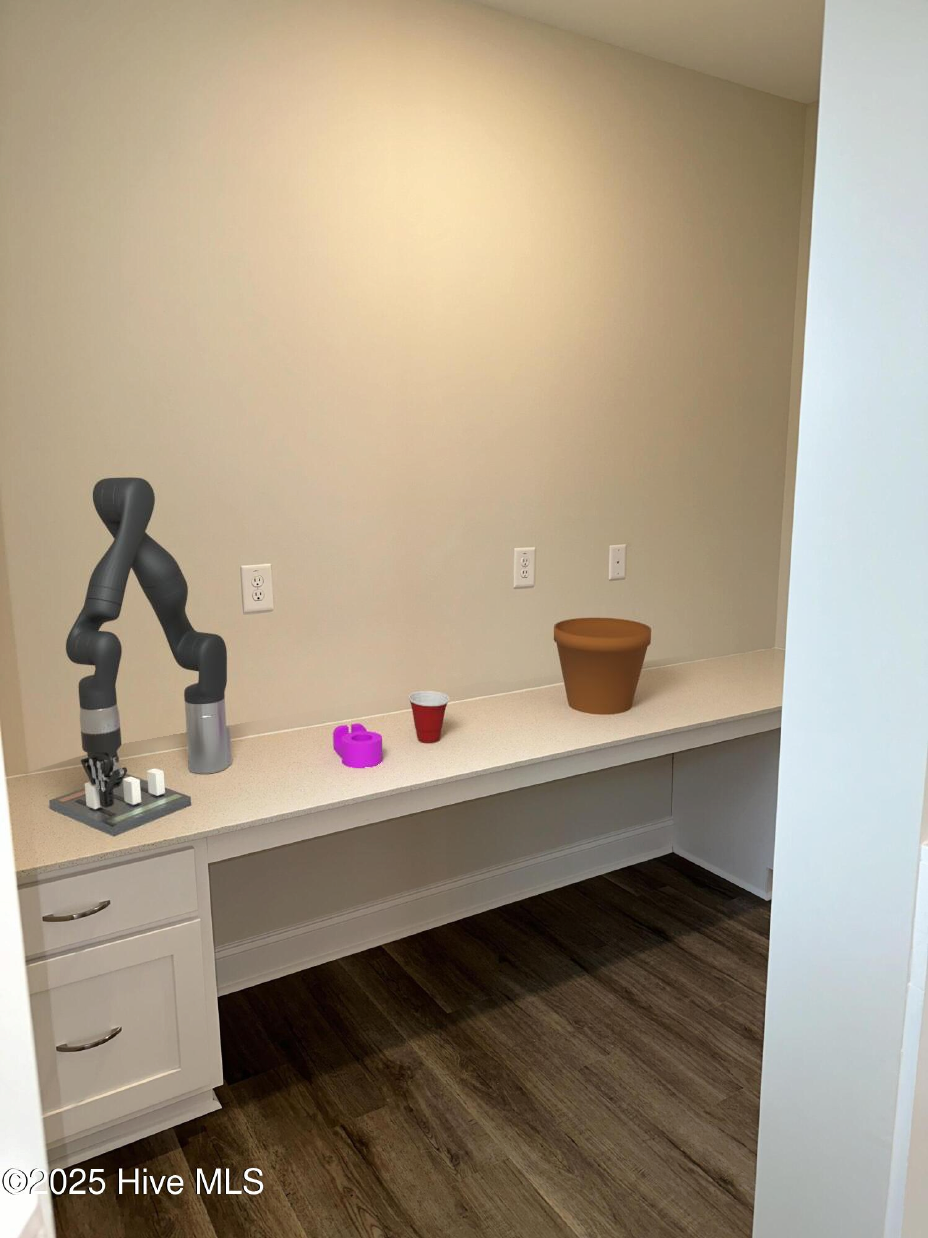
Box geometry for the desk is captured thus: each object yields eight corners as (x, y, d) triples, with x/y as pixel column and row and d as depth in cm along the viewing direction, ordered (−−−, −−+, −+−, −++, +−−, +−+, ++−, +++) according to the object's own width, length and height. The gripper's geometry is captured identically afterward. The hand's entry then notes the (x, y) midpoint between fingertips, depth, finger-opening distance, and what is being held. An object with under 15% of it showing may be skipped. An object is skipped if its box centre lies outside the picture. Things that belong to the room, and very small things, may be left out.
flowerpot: (589, 725, 253) (592, 642, 248) (534, 699, 277) (535, 623, 272) (667, 710, 266) (671, 631, 262) (608, 687, 290) (610, 614, 286)
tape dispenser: (387, 765, 224) (387, 741, 222) (348, 771, 220) (348, 746, 218) (367, 745, 238) (367, 722, 237) (330, 750, 234) (329, 727, 233)
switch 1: (95, 802, 195) (93, 780, 194) (103, 806, 193) (101, 783, 192) (86, 805, 193) (84, 783, 192) (94, 809, 192) (93, 786, 190)
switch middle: (132, 798, 197) (130, 776, 196) (141, 801, 195) (139, 779, 194) (124, 801, 195) (122, 779, 194) (133, 804, 194) (131, 782, 193)
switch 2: (156, 789, 202) (154, 768, 201) (164, 792, 200) (163, 771, 199) (148, 792, 200) (147, 771, 199) (157, 795, 198) (155, 774, 197)
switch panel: (127, 781, 213) (126, 773, 212) (191, 805, 199) (190, 796, 199) (50, 809, 197) (49, 799, 197) (113, 836, 184) (113, 826, 184)
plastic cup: (432, 750, 234) (432, 704, 231) (400, 741, 240) (399, 697, 238) (458, 738, 242) (458, 695, 240) (426, 730, 249) (426, 687, 246)
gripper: (136, 727, 186) (142, 807, 190) (97, 715, 194) (104, 793, 197) (103, 737, 180) (110, 820, 184) (64, 725, 188) (72, 804, 191)
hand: (107, 805), depth 191 cm, fingers closed
